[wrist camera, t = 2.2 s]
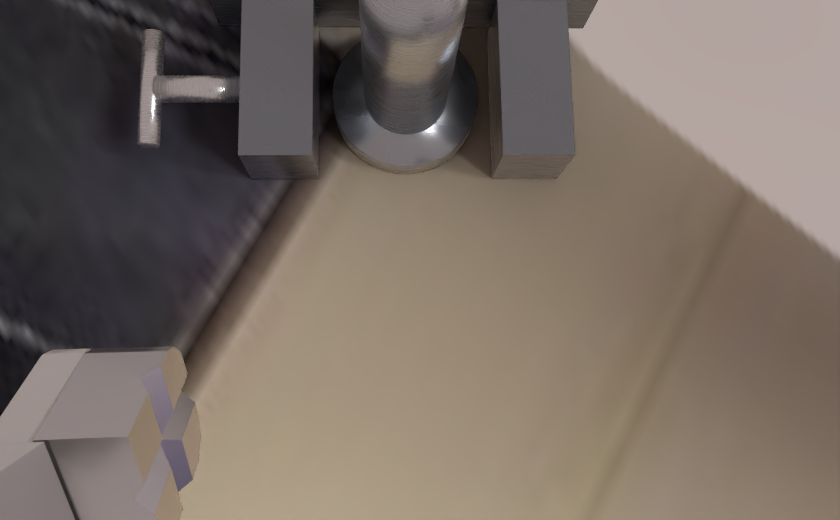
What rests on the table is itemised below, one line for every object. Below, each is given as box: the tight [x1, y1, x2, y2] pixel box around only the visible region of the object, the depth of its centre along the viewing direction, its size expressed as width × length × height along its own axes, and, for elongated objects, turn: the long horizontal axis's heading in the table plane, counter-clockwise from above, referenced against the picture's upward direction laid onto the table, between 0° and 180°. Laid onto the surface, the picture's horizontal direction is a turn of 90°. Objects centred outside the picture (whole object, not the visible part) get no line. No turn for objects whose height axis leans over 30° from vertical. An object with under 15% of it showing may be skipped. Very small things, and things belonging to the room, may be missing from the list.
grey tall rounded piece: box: [333, 0, 478, 174], centre depth 26 cm, size 6×7×12 cm
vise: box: [137, 0, 598, 179], centre depth 30 cm, size 17×9×3 cm, turn 91°
